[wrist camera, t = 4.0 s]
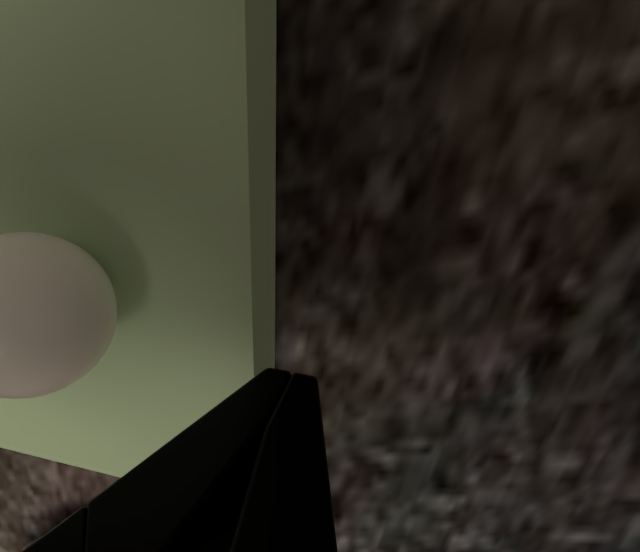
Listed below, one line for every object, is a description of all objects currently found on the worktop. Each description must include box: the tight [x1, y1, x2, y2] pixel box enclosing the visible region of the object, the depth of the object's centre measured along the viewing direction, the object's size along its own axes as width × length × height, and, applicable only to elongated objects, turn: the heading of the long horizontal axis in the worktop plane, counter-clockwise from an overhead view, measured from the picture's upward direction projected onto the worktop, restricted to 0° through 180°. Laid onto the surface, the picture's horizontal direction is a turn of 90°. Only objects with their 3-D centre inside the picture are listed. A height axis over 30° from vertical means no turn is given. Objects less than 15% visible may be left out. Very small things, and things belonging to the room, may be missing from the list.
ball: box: [0, 232, 117, 399], centre depth 10 cm, size 3×3×3 cm
